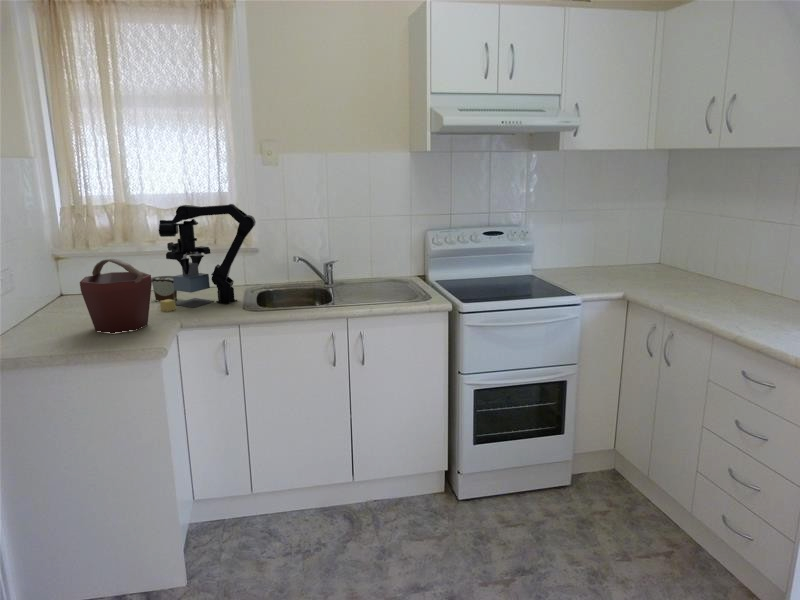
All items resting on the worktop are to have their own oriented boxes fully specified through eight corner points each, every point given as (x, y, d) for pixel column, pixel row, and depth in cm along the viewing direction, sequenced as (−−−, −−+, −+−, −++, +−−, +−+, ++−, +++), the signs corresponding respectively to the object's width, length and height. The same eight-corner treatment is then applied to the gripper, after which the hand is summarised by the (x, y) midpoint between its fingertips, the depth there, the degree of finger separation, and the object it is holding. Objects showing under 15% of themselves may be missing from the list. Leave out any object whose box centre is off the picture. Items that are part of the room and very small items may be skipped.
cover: (209, 287, 244) (207, 262, 242) (191, 292, 236) (188, 266, 233) (193, 285, 249) (190, 260, 246) (174, 290, 240) (171, 264, 238)
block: (175, 309, 233) (174, 300, 233) (167, 312, 230) (166, 302, 229) (169, 308, 235) (168, 299, 234) (160, 310, 232) (159, 301, 231)
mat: (214, 301, 246) (214, 300, 246) (192, 307, 236) (192, 306, 236) (194, 298, 252) (194, 297, 252) (172, 304, 241) (172, 303, 241)
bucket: (164, 328, 207) (157, 259, 201) (98, 341, 192) (88, 268, 186) (138, 316, 224) (131, 252, 218) (76, 327, 209) (66, 259, 203)
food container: (186, 298, 252) (183, 276, 250) (177, 301, 246) (174, 279, 244) (162, 297, 255) (159, 275, 253) (152, 300, 250) (150, 277, 247)
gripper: (190, 232, 249) (194, 268, 252) (154, 237, 233) (159, 275, 236) (209, 233, 243) (212, 270, 247) (173, 239, 227) (177, 277, 231)
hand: (190, 273), depth 241 cm, fingers closed on cover, 4 cm apart
